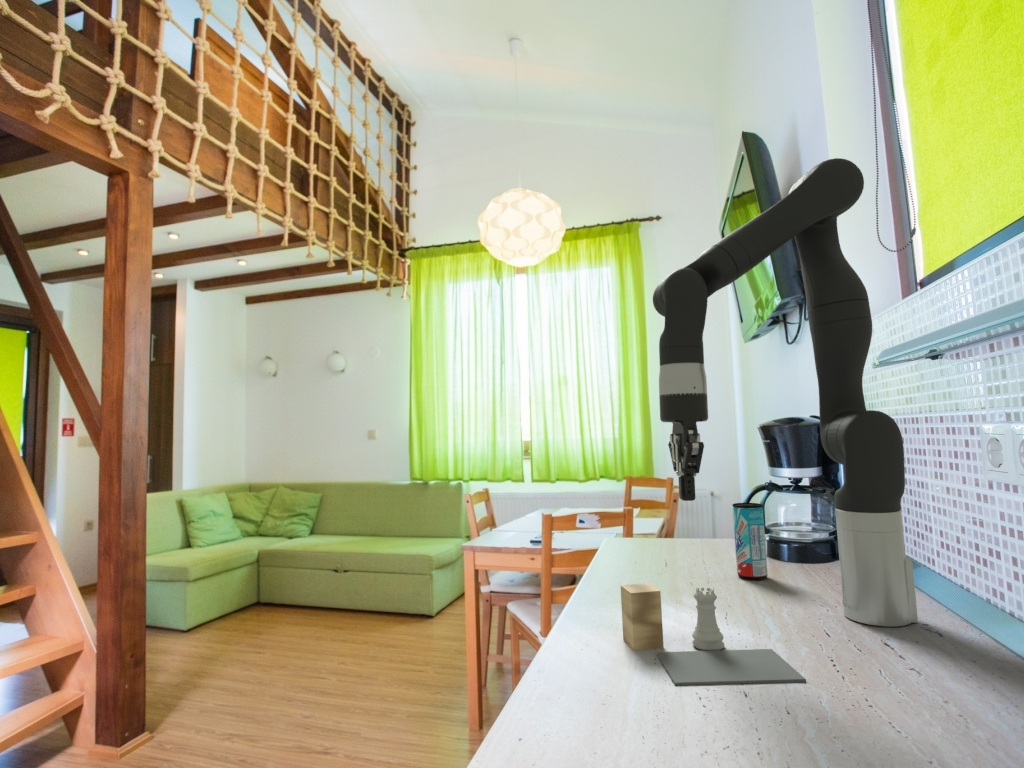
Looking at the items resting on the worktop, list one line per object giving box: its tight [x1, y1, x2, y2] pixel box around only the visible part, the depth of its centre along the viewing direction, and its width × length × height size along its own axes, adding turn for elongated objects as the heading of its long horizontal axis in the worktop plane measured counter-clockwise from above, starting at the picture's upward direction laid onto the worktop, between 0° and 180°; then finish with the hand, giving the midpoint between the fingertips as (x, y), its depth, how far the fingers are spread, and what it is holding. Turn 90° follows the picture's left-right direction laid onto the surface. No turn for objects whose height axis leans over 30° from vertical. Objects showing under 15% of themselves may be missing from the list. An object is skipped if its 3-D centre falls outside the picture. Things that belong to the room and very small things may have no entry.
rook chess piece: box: [691, 586, 725, 651], centre depth 84 cm, size 4×4×8 cm
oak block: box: [620, 582, 665, 651], centre depth 86 cm, size 4×4×8 cm
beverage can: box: [732, 502, 769, 581], centre depth 122 cm, size 6×6×15 cm
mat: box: [656, 648, 807, 686], centre depth 76 cm, size 16×10×1 cm, turn 89°
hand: (687, 500), depth 93 cm, fingers closed
